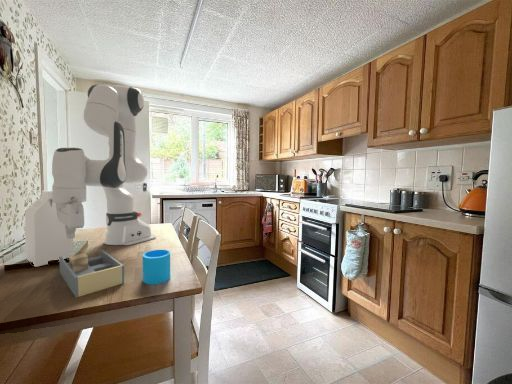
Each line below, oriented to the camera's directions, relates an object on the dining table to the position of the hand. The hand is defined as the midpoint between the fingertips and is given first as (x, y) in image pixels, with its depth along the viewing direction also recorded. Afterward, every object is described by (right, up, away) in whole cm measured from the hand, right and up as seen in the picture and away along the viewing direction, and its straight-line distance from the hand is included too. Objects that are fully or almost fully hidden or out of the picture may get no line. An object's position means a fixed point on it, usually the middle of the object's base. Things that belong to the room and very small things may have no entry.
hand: (70, 237), depth 79 cm
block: (+6, -9, -4) cm, 12 cm away
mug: (+29, -13, -1) cm, 32 cm away
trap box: (+10, -12, -4) cm, 16 cm away
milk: (-17, -10, +12) cm, 23 cm away
